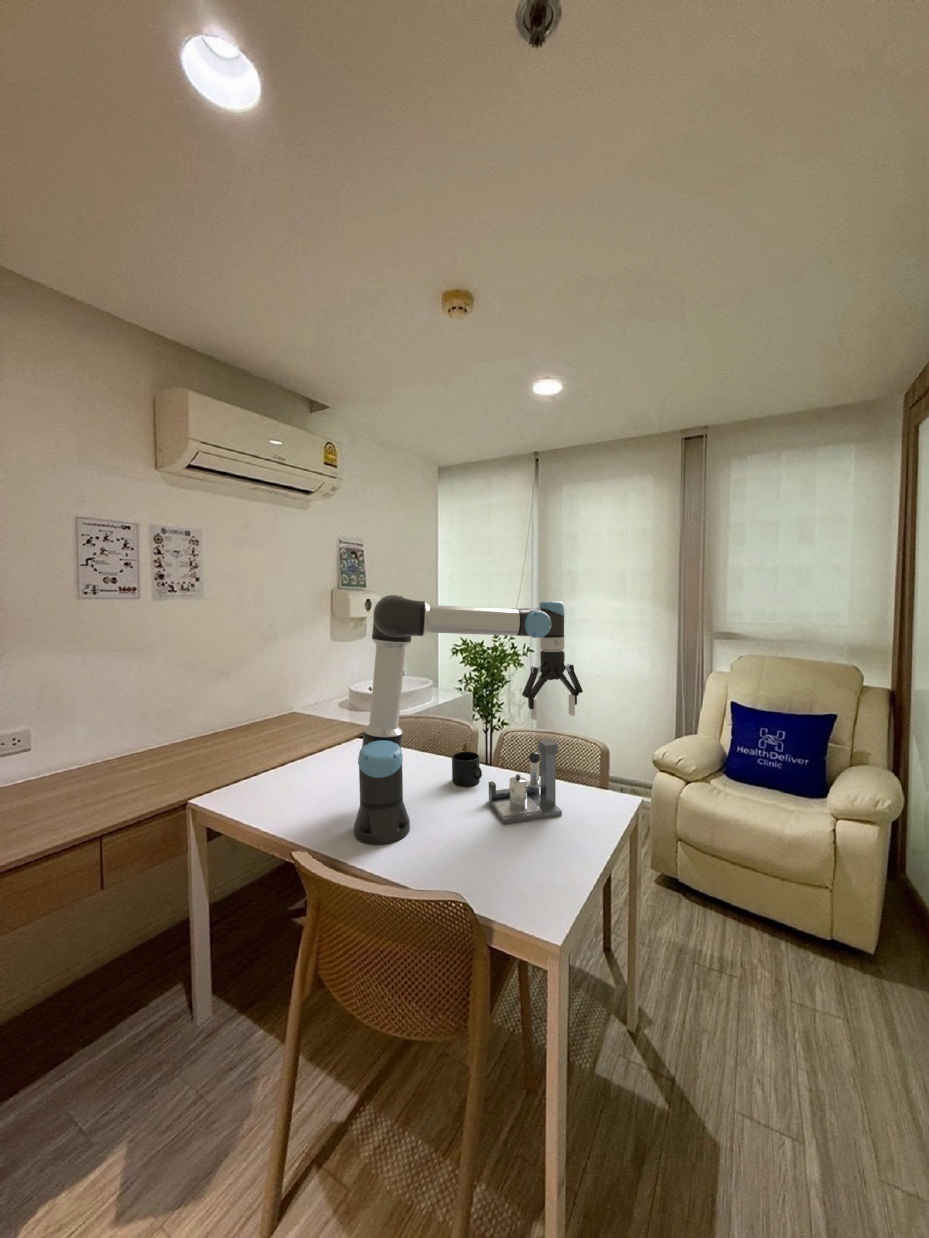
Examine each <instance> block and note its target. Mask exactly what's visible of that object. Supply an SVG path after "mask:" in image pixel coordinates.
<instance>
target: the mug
mask: <svg viewBox="0 0 929 1238" xmlns="http://www.w3.org/2000/svg"><path fill="white" fill-rule="evenodd" d="M451 768H452V769H451V775H452V776H451V781H452V784H453V785H455V786H456V787H461V788H462V787H463V788H469V787H470V788H471V787H475V786H477V785H479V783H480V779H481V778H482V776H483V773H482V769H481V767H480V754H478V753H477V752H474V751H473V752H472V751H460V752H459V751H458V752H456V753H454V754H452V756H451Z"/></svg>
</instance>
